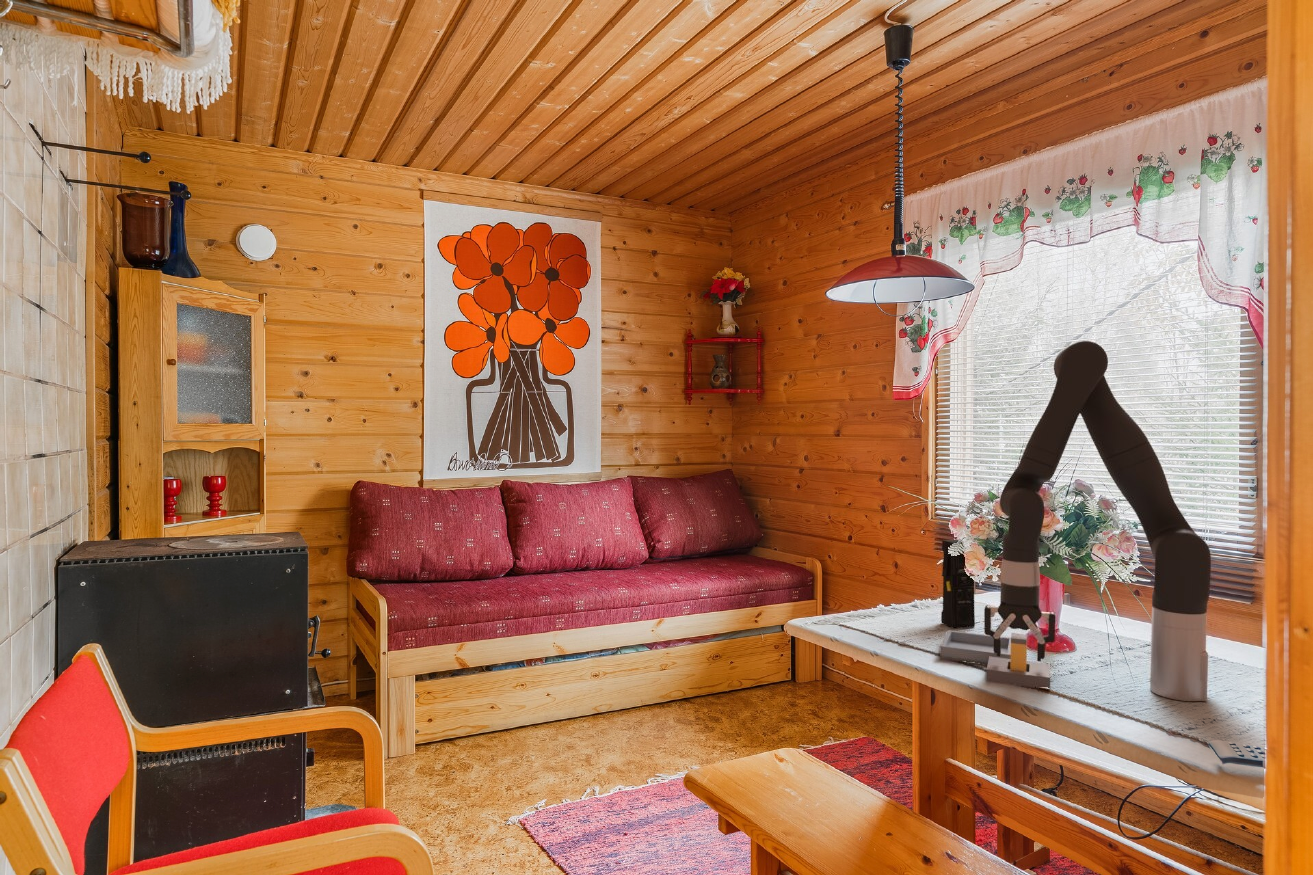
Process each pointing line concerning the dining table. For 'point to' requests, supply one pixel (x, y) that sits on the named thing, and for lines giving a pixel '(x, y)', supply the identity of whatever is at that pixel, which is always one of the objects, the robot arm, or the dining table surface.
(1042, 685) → the socket plate
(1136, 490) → the robot arm
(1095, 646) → the dining table surface
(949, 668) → the dining table surface
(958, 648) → the grey tray
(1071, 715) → the dining table surface
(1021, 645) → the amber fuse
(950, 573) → the portable radio
